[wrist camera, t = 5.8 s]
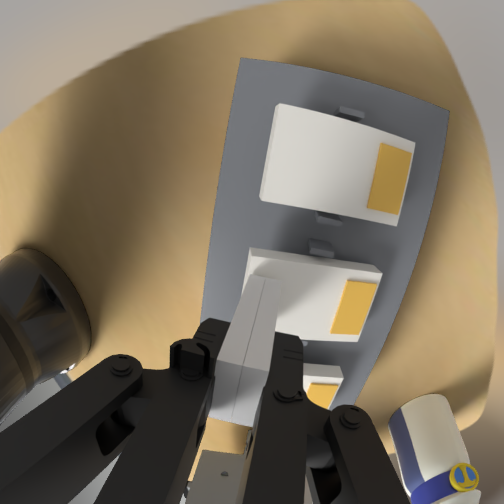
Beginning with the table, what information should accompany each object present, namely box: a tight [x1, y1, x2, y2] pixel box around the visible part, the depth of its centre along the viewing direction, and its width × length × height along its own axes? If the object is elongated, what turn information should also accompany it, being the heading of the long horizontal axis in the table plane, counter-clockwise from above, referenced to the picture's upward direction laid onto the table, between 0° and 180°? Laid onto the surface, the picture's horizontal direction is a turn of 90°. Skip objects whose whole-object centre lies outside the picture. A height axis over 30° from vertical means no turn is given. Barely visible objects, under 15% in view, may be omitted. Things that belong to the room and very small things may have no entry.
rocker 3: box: [303, 363, 344, 409], centre depth 18 cm, size 7×4×1 cm, turn 80°
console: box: [200, 58, 450, 411], centre depth 19 cm, size 12×24×8 cm, turn 170°
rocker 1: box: [259, 103, 415, 226], centre depth 14 cm, size 7×4×1 cm, turn 80°
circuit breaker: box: [183, 430, 312, 504], centre depth 24 cm, size 8×14×15 cm, turn 92°
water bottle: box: [388, 394, 481, 504], centre depth 15 cm, size 8×9×25 cm
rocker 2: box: [241, 247, 383, 342], centre depth 16 cm, size 7×4×1 cm, turn 80°
